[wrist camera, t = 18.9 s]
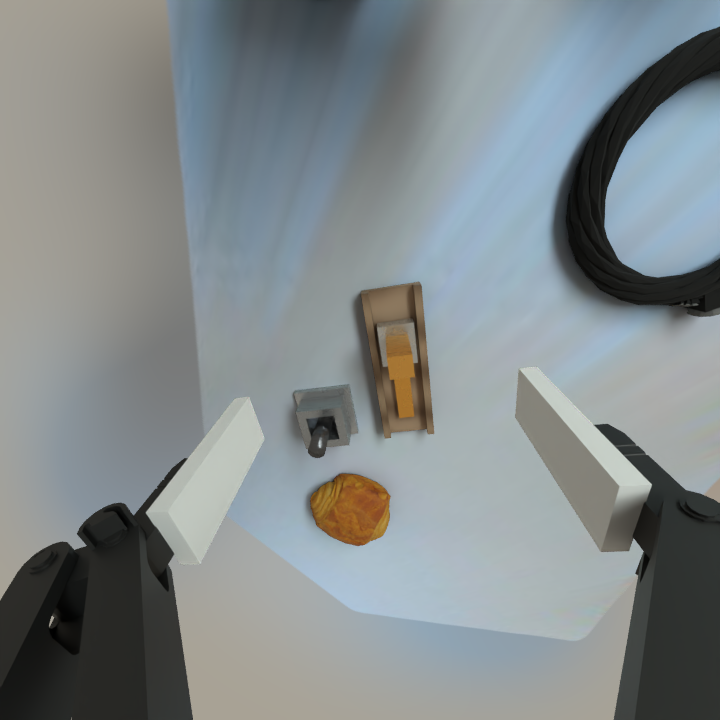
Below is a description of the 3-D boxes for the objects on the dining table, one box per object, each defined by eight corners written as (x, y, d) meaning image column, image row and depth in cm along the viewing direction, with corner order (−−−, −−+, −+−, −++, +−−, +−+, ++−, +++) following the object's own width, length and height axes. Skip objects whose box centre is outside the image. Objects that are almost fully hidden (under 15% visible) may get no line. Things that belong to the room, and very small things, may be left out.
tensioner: (377, 323, 44) (376, 346, 35) (412, 318, 43) (420, 341, 35) (391, 416, 50) (393, 454, 42) (422, 413, 49) (430, 451, 41)
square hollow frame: (301, 398, 50) (295, 412, 46) (343, 393, 49) (340, 407, 45) (311, 433, 53) (306, 449, 49) (351, 429, 52) (349, 445, 48)
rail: (361, 290, 43) (360, 294, 41) (419, 281, 42) (421, 285, 40) (384, 429, 53) (384, 438, 50) (431, 424, 52) (434, 433, 49)
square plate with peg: (295, 390, 50) (276, 428, 41) (349, 384, 49) (341, 421, 40) (308, 434, 54) (293, 477, 45) (358, 429, 53) (353, 472, 44)
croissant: (363, 524, 66) (365, 564, 59) (300, 499, 61) (295, 539, 54) (407, 487, 60) (414, 527, 54) (341, 457, 55) (341, 496, 48)
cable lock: (910, -84, 25) (865, 264, 35) (844, -46, 28) (821, 261, 38) (552, 114, 31) (603, 358, 41) (535, 125, 35) (586, 347, 45)
